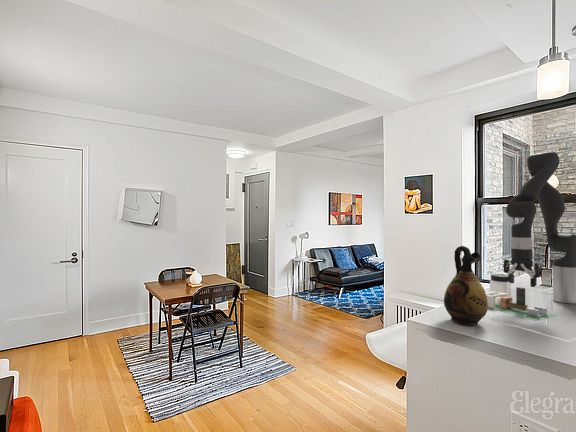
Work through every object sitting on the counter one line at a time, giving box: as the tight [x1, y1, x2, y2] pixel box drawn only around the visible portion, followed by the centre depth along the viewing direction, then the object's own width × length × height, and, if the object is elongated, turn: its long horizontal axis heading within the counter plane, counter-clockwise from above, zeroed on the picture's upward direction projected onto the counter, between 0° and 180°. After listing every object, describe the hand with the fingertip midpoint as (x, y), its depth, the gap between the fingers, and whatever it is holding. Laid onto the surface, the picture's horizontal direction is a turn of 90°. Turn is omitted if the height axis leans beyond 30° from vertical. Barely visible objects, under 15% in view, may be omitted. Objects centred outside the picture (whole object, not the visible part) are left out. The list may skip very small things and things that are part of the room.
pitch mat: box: [488, 304, 558, 322], centre depth 143 cm, size 16×25×1 cm, turn 24°
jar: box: [489, 273, 512, 297], centre depth 164 cm, size 9×8×12 cm
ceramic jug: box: [443, 245, 489, 327], centre depth 129 cm, size 17×15×30 cm
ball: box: [495, 297, 501, 306], centre depth 149 cm, size 4×4×4 cm
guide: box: [527, 305, 548, 318], centre depth 135 cm, size 7×4×3 cm, turn 114°
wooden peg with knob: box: [501, 286, 528, 311], centre depth 143 cm, size 5×9×10 cm, turn 24°
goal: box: [485, 291, 509, 308], centre depth 151 cm, size 11×6×6 cm, turn 114°
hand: (522, 284), depth 141 cm, fingers open, 8 cm apart
